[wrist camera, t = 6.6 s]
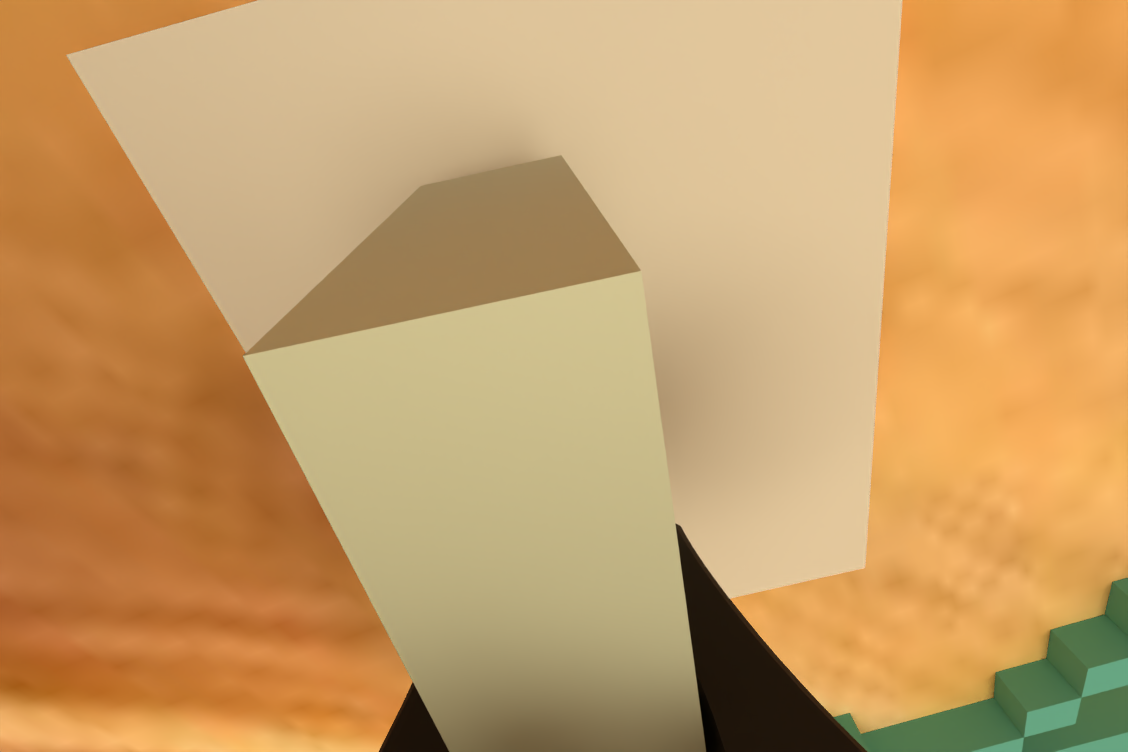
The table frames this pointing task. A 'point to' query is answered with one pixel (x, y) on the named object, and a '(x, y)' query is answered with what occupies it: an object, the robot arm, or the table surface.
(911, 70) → the table surface
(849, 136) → the rubber mat
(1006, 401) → the table surface
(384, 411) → the sage board
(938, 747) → the alien figure
